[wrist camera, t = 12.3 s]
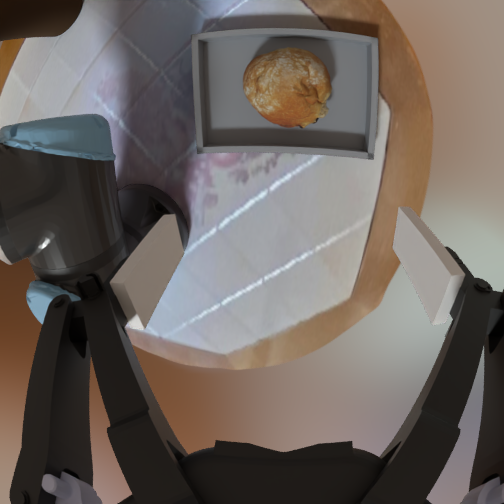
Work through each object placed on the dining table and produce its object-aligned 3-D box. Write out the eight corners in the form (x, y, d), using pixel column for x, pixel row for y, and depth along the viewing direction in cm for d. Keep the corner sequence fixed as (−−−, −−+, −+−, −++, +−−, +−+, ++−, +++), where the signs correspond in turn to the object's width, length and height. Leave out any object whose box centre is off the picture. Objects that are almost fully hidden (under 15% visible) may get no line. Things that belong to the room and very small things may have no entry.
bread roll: (312, 54, 29) (303, 20, 21) (347, 117, 29) (349, 91, 22) (245, 82, 32) (221, 55, 25) (274, 146, 33) (254, 129, 25)
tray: (204, 148, 35) (197, 153, 33) (198, 38, 27) (191, 34, 25) (367, 154, 33) (373, 159, 30) (370, 42, 25) (377, 38, 22)
